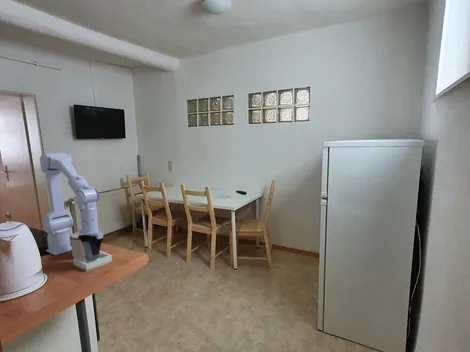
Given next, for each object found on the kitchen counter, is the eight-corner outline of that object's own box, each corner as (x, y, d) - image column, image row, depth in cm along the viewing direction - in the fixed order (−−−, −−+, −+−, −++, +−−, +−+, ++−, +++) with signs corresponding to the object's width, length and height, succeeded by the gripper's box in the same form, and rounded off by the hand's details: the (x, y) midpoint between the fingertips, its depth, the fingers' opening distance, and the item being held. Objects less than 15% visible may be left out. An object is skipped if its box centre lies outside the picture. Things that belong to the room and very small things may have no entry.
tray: (73, 264, 103) (73, 258, 103) (98, 255, 111) (98, 250, 111) (86, 271, 98) (86, 264, 97) (112, 261, 106) (111, 255, 106)
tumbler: (82, 258, 104) (80, 241, 103) (95, 254, 108) (93, 237, 107) (89, 261, 101) (87, 244, 100) (102, 256, 105) (100, 239, 104)
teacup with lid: (92, 257, 110) (90, 230, 108) (68, 260, 108) (65, 232, 107) (100, 246, 121) (98, 222, 120) (79, 248, 120) (76, 223, 118)
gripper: (69, 219, 103) (72, 252, 105) (88, 225, 95) (91, 260, 97) (87, 215, 109) (90, 246, 111) (107, 220, 101) (110, 254, 103)
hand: (92, 252), depth 104 cm, fingers closed on tumbler, 5 cm apart
